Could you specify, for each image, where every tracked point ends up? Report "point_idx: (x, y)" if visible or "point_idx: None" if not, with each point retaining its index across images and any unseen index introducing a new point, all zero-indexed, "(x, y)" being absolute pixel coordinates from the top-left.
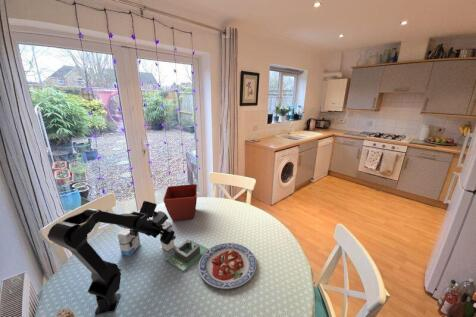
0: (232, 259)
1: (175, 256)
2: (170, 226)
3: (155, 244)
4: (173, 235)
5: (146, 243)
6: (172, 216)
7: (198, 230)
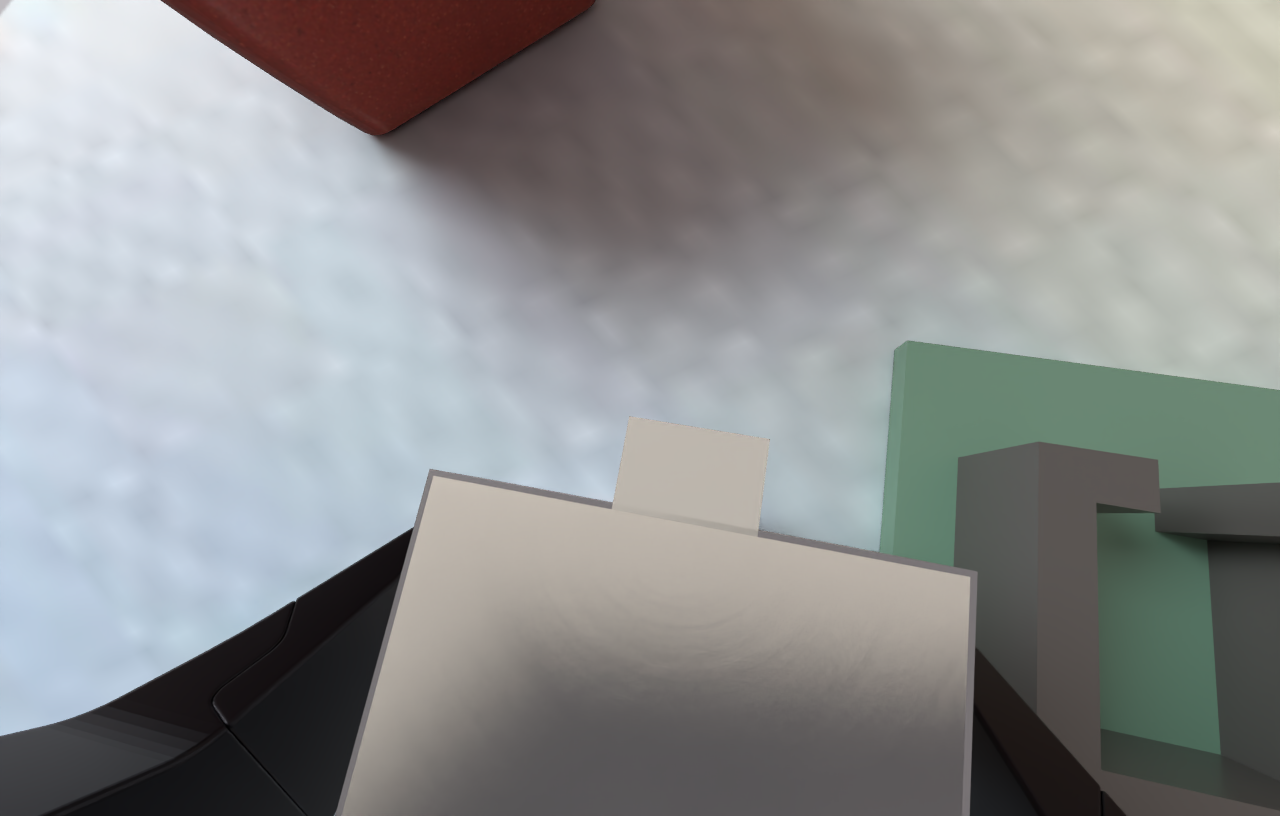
0: None
1: None
2: (926, 700)
3: None
4: (1101, 801)
5: None
6: (328, 72)
7: (823, 139)
